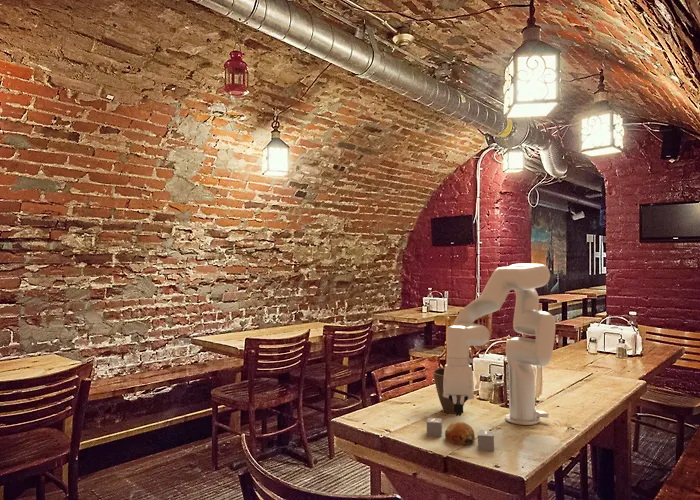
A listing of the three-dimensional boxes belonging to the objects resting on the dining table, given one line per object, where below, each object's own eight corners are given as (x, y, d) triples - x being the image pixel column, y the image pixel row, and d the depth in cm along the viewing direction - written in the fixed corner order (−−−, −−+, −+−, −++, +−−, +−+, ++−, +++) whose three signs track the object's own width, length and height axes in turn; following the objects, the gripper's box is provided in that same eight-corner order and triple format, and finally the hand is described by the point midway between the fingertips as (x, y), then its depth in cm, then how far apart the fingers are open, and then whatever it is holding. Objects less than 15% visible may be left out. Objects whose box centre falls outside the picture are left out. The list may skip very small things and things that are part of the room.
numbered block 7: (442, 432, 191) (442, 418, 191) (441, 437, 186) (440, 422, 186) (428, 431, 192) (428, 417, 192) (426, 436, 187) (426, 421, 187)
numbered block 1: (494, 446, 177) (493, 430, 177) (494, 451, 172) (493, 435, 172) (478, 445, 178) (478, 429, 178) (478, 450, 173) (477, 434, 173)
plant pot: (471, 417, 208) (470, 376, 208) (433, 415, 211) (432, 375, 211) (470, 406, 223) (469, 368, 223) (434, 404, 226) (434, 367, 226)
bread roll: (472, 447, 186) (469, 423, 189) (479, 444, 177) (476, 419, 180) (444, 448, 185) (441, 424, 189) (450, 444, 176) (447, 420, 180)
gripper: (480, 360, 185) (481, 413, 185) (437, 358, 189) (438, 410, 189) (479, 364, 178) (480, 419, 177) (435, 362, 182) (435, 416, 181)
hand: (458, 414), depth 183 cm, fingers closed
